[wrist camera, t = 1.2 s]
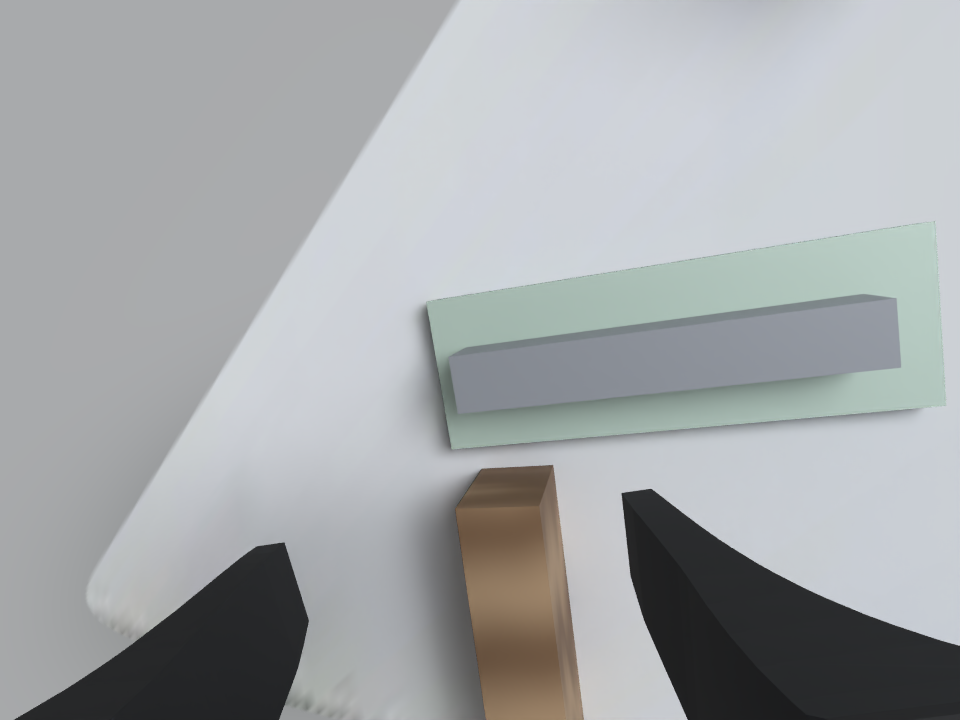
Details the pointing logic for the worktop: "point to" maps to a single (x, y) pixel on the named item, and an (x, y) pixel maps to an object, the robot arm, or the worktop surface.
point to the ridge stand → (698, 342)
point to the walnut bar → (519, 595)
